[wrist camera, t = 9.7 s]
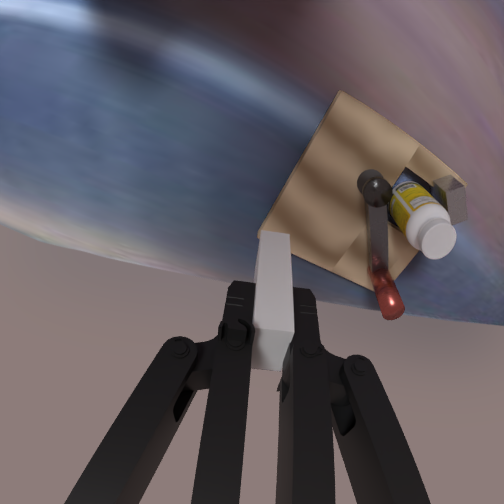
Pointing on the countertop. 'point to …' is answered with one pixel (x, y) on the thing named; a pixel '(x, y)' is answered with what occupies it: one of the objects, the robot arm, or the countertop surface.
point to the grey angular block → (451, 197)
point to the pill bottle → (422, 220)
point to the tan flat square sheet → (348, 189)
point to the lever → (380, 246)
